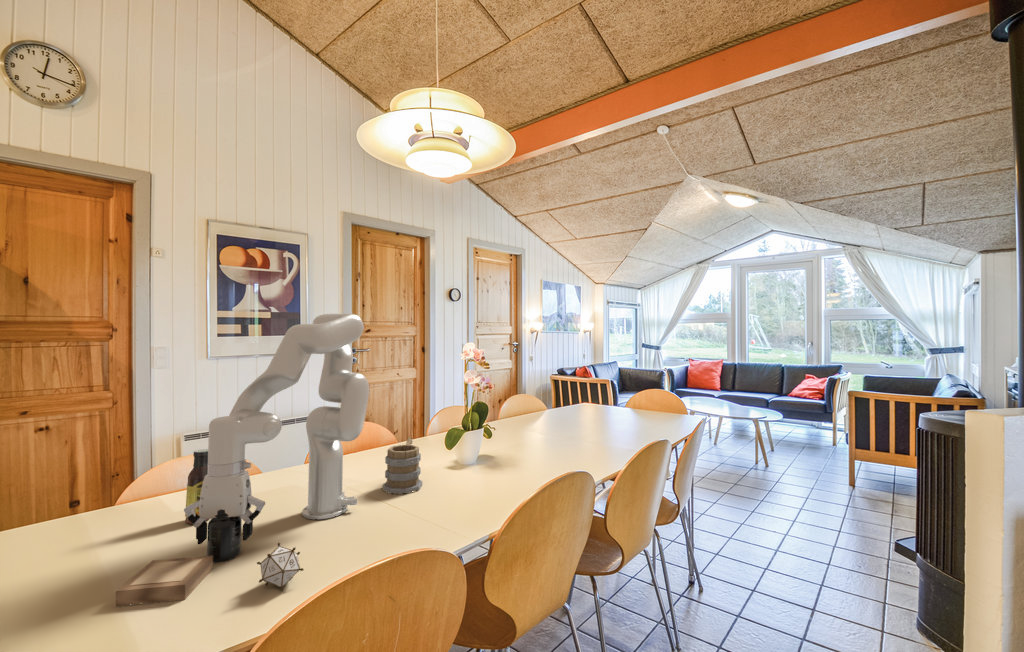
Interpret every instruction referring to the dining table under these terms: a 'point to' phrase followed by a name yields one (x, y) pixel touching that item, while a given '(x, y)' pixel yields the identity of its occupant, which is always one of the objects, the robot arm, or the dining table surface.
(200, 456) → the sauce bottle
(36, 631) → the dining table surface
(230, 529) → the supplement bottle
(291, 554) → the game die
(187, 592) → the walnut base
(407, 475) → the tankard
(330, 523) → the dining table surface
